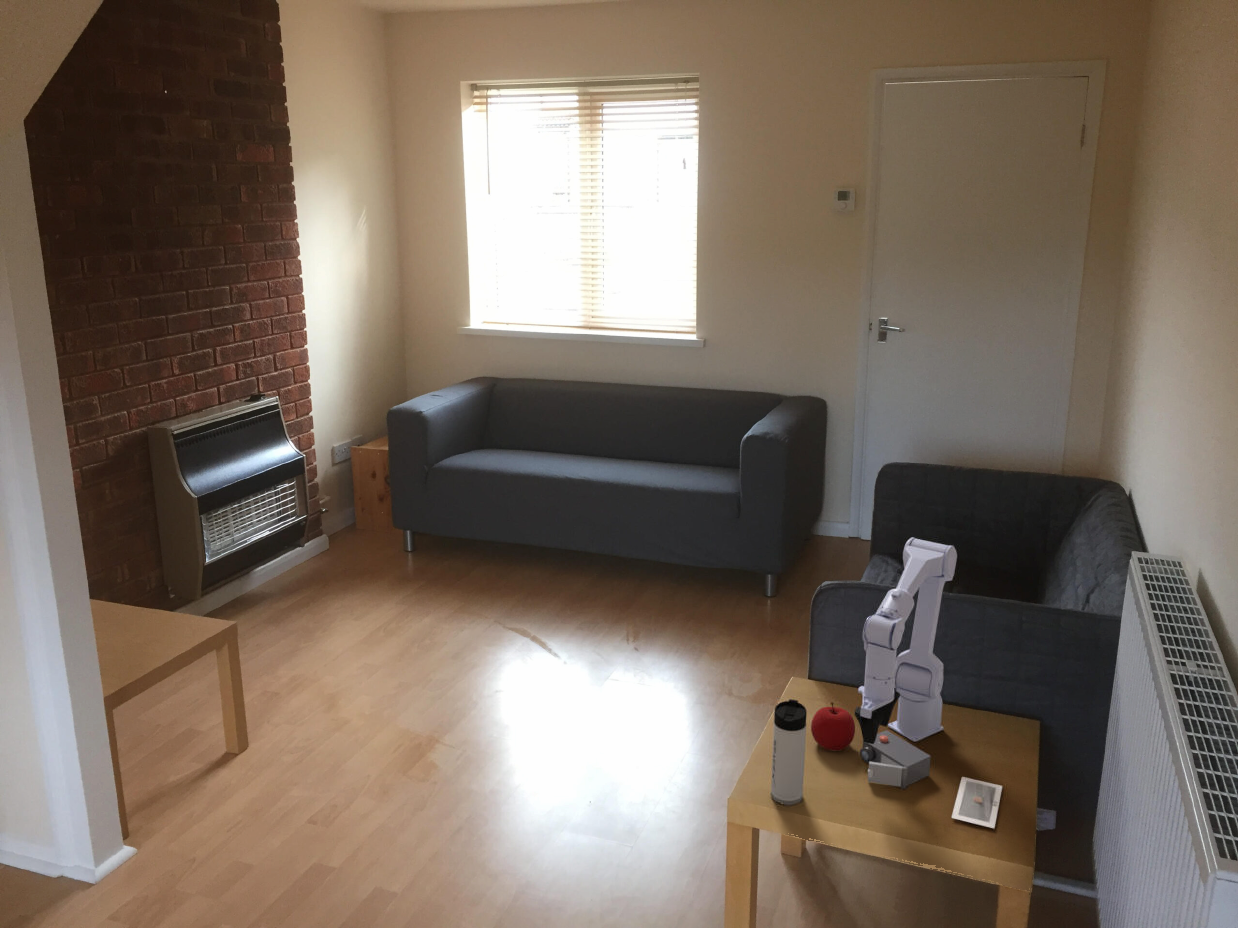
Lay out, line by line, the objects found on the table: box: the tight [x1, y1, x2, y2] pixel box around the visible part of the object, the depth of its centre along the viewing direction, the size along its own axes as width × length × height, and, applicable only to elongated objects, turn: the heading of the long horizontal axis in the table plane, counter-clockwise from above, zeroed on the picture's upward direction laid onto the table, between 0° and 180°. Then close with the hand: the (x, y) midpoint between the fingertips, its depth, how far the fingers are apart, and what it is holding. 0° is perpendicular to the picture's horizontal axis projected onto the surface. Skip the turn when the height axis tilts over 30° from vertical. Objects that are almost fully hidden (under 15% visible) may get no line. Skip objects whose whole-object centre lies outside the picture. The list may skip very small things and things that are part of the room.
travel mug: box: [770, 698, 808, 806], centre depth 207 cm, size 6×7×20 cm
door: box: [867, 761, 907, 790], centre depth 213 cm, size 8×2×5 cm, turn 73°
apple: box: [810, 702, 856, 752], centre depth 226 cm, size 9×9×10 cm
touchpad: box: [951, 776, 1003, 829], centre depth 207 cm, size 8×15×2 cm, turn 155°
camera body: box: [859, 729, 932, 787], centre depth 219 cm, size 9×12×5 cm
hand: (875, 733), depth 213 cm, fingers open, 7 cm apart
